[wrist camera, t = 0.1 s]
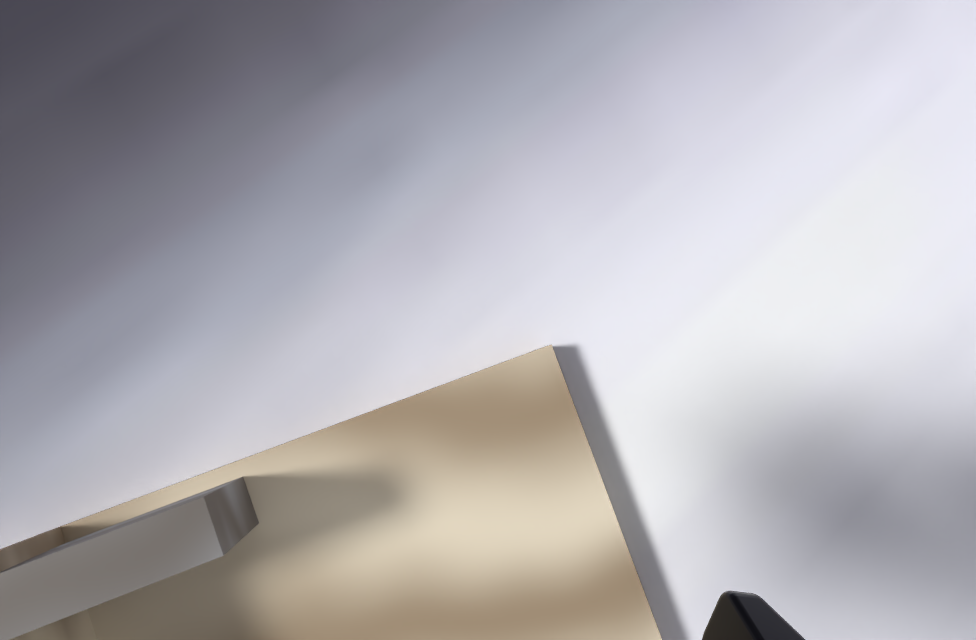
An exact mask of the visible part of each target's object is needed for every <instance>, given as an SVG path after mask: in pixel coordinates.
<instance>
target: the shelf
mask: <svg viewBox="0 0 976 640" xmlns="http://www.w3.org/2000/svg"><path fill="white" fill-rule="evenodd" d="M0 640H662V638H661V635H660V633H659V630H658V627H657V625H656V622H655V619H654V617H653V614H652V611H651V609H650V606H649V603H648V601H647V598H646V595H645V593H644V590H643V587H642V585H641V582H640V579H639V577H638V574H637V571H636V569H635V566H634V563H633V561H632V558H631V555H630V553H629V550H628V547H627V545H626V542H625V539H624V537H623V534H622V531H621V529H620V526H619V523H618V521H617V518H616V515H615V513H614V510H613V507H612V504H611V502H610V499H609V496H608V494H607V491H606V488H605V486H604V483H603V480H602V478H601V475H600V472H599V470H598V467H597V464H596V462H595V459H594V456H593V454H592V451H591V448H590V446H589V443H588V440H587V438H586V435H585V432H584V430H583V427H582V424H581V422H580V419H579V416H578V414H577V411H576V408H575V406H574V403H573V400H572V398H571V395H570V392H569V390H568V387H567V384H566V382H565V379H564V376H563V374H562V371H561V368H560V366H559V363H558V360H557V358H556V355H555V352H554V350H553V347H552V345H549V346H546V347H543V348H540V349H538V350H535V351H532V352H530V353H527V354H524V355H521V356H519V357H516V358H513V359H511V360H508V361H505V362H503V363H500V364H497V365H494V366H492V367H489V368H486V369H484V370H481V371H478V372H476V373H473V374H470V375H468V376H465V377H462V378H459V379H457V380H454V381H451V382H449V383H446V384H443V385H441V386H438V387H435V388H432V389H430V390H427V391H424V392H422V393H419V394H416V395H414V396H411V397H408V398H406V399H403V400H400V401H397V402H395V403H392V404H389V405H387V406H384V407H381V408H379V409H376V410H373V411H370V412H368V413H365V414H362V415H360V416H357V417H354V418H352V419H349V420H346V421H344V422H341V423H338V424H335V425H333V426H330V427H327V428H325V429H322V430H319V431H317V432H314V433H311V434H309V435H306V436H303V437H300V438H298V439H295V440H292V441H290V442H287V443H284V444H282V445H279V446H276V447H273V448H271V449H268V450H265V451H263V452H260V453H257V454H255V455H252V456H249V457H247V458H244V459H241V460H238V461H236V462H233V463H230V464H228V465H225V466H222V467H220V468H217V469H214V470H211V471H209V472H206V473H203V474H201V475H198V476H195V477H193V478H190V479H187V480H185V481H182V482H179V483H176V484H174V485H171V486H168V487H166V488H163V489H160V490H158V491H155V492H152V493H149V494H147V495H144V496H141V497H139V498H136V499H133V500H131V501H128V502H125V503H123V504H120V505H117V506H114V507H112V508H109V509H106V510H104V511H101V512H98V513H96V514H93V515H90V516H88V517H85V518H82V519H79V520H77V521H74V522H71V523H69V524H66V525H63V526H61V527H58V528H55V529H52V530H50V531H47V532H44V533H42V534H39V535H36V536H34V537H31V538H28V539H26V540H23V541H21V542H18V543H15V544H13V545H10V546H8V547H5V548H2V549H0Z"/></svg>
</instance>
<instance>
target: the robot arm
mask: <svg viewBox="0 0 976 640" xmlns="http://www.w3.org/2000/svg"><path fill="white" fill-rule="evenodd" d="M702 640H805V639H804V638H803V637H802V636H801V635H800V634H799V633H798V632H797V631H796V630H795V629H794V628H793V627H791V626H790V625H789V624H788V623H787V622H786V621H785V620H784V619H783V618H782V617H781V616H780V615H779V614H778V613H777V612H776V611H775V610H774V609H773V608H772V607H770V606H769V605H768V604H767V603H766V602H765V601H764V600H763V599H762V598H761V597H759V596H758V595H756V594H753V593H745V592H737V591H726V592H724V593H723V594H722V595H721V596H720V598H719V600H718V602H717V605H716V607H715V609H714V611H713V614H712V616H711V618H710V620H709V623H708V625H707V627H706V629H705V632H704V634H703V638H702Z"/></svg>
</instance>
